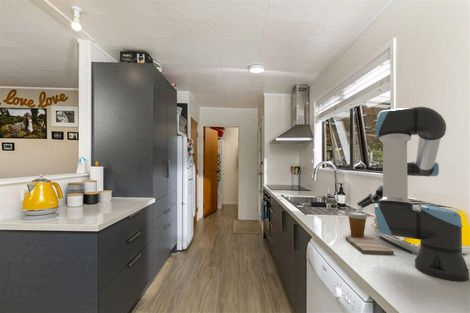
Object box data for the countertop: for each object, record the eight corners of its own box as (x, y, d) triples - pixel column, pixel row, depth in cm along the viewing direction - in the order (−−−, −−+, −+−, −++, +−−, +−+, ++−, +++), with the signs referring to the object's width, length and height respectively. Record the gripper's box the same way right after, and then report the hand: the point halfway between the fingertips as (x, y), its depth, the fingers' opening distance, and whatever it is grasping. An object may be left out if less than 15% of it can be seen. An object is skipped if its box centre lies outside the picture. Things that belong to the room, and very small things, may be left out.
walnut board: (393, 254, 104) (393, 251, 104) (363, 253, 104) (363, 249, 104) (371, 240, 122) (371, 237, 123) (345, 239, 123) (345, 236, 123)
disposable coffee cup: (362, 233, 135) (362, 211, 136) (370, 238, 126) (370, 215, 126) (345, 232, 136) (345, 211, 137) (351, 237, 127) (351, 214, 127)
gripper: (410, 198, 125) (388, 228, 121) (371, 192, 149) (351, 217, 145) (402, 188, 124) (380, 218, 119) (364, 184, 148) (344, 209, 143)
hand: (364, 218), depth 132 cm, fingers open, 13 cm apart
